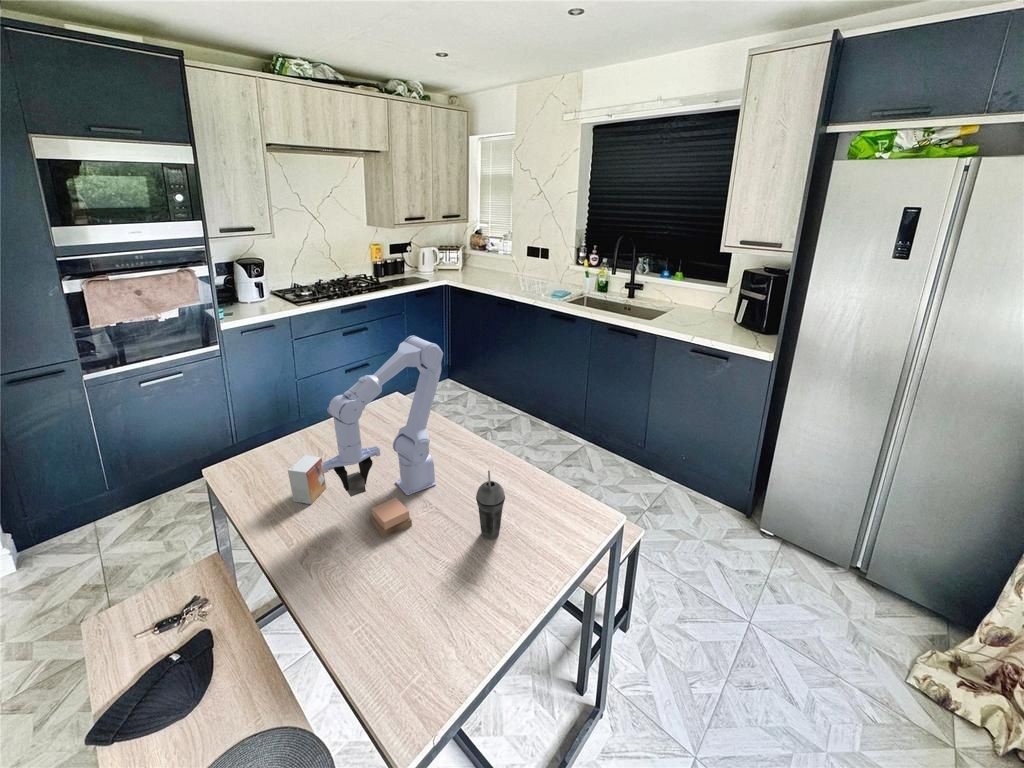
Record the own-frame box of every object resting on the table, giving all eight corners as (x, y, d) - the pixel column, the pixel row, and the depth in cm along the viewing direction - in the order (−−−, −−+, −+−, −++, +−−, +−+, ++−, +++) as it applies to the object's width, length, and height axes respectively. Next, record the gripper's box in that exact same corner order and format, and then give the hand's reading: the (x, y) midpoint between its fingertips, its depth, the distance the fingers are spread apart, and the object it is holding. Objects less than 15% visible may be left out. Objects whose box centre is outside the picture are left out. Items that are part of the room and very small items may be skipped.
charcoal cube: (360, 483, 133) (358, 471, 131) (365, 491, 130) (364, 479, 128) (345, 489, 131) (343, 476, 129) (350, 496, 128) (348, 484, 126)
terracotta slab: (396, 505, 134) (395, 497, 133) (409, 518, 129) (409, 510, 128) (372, 515, 129) (371, 508, 128) (385, 530, 125) (384, 522, 124)
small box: (311, 505, 136) (305, 473, 131) (293, 502, 137) (286, 470, 132) (327, 487, 143) (322, 456, 139) (309, 485, 144) (304, 454, 140)
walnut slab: (398, 511, 135) (398, 503, 134) (412, 527, 130) (411, 519, 129) (370, 522, 131) (369, 514, 130) (383, 539, 125) (382, 531, 124)
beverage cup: (508, 527, 129) (510, 463, 121) (498, 546, 123) (499, 480, 115) (482, 521, 131) (482, 457, 123) (471, 539, 125) (470, 473, 117)
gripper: (371, 426, 131) (375, 469, 136) (314, 442, 123) (322, 487, 129) (381, 438, 125) (386, 482, 131) (323, 455, 118) (330, 501, 123)
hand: (355, 485), depth 130 cm, fingers closed on charcoal cube, 4 cm apart
